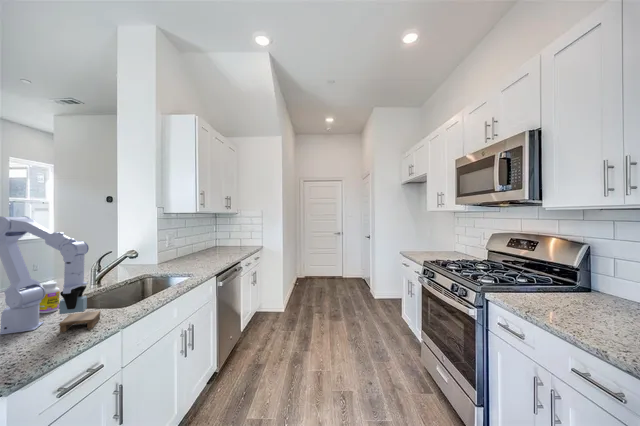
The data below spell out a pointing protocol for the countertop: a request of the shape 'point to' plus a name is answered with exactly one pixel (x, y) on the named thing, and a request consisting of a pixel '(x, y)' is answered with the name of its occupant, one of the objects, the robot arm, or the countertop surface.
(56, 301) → the supplement bottle
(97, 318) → the stand
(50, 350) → the countertop surface
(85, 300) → the housing
